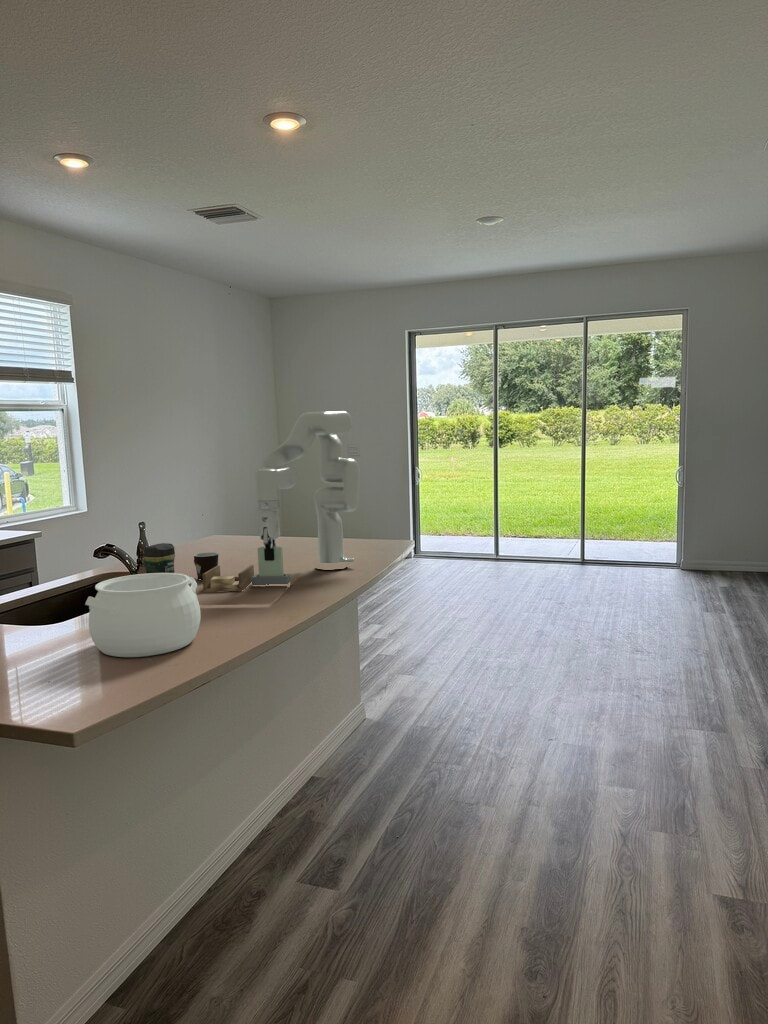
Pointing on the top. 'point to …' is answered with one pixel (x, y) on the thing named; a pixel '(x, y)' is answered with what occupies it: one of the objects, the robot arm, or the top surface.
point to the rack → (243, 579)
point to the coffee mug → (205, 562)
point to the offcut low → (234, 585)
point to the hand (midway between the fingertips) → (270, 559)
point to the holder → (270, 579)
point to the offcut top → (223, 580)
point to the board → (270, 563)
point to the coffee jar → (159, 558)
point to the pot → (144, 614)
